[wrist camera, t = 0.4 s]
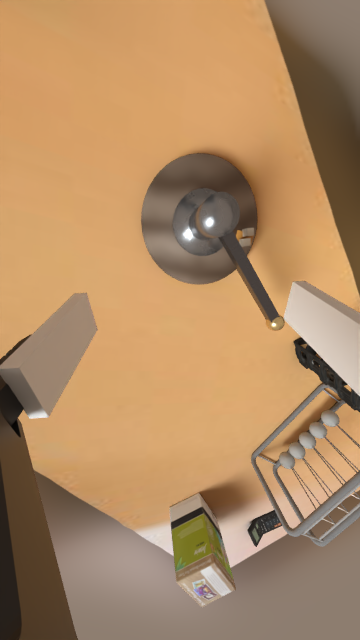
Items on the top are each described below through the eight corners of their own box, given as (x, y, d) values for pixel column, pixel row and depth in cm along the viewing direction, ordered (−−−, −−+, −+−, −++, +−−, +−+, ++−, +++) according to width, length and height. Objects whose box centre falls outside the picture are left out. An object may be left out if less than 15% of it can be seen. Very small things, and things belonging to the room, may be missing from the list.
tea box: (217, 517, 63) (237, 591, 49) (188, 531, 63) (200, 610, 49) (199, 490, 58) (215, 565, 44) (168, 506, 58) (174, 586, 44)
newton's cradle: (324, 378, 52) (407, 437, 35) (345, 396, 55) (431, 457, 39) (247, 457, 57) (289, 541, 40) (271, 469, 60) (319, 552, 43)
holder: (336, 340, 48) (445, 405, 30) (320, 365, 51) (411, 439, 33) (298, 332, 46) (390, 396, 28) (283, 359, 49) (359, 434, 31)
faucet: (160, 215, 32) (164, 202, 24) (210, 176, 32) (234, 147, 23) (236, 330, 41) (260, 351, 32) (277, 301, 40) (312, 313, 32)
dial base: (132, 162, 32) (130, 150, 28) (252, 156, 34) (265, 143, 30) (150, 289, 38) (151, 292, 34) (250, 276, 40) (261, 278, 37)
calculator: (281, 522, 70) (287, 533, 67) (250, 535, 70) (255, 547, 67) (276, 507, 67) (282, 518, 64) (244, 521, 67) (248, 533, 64)
